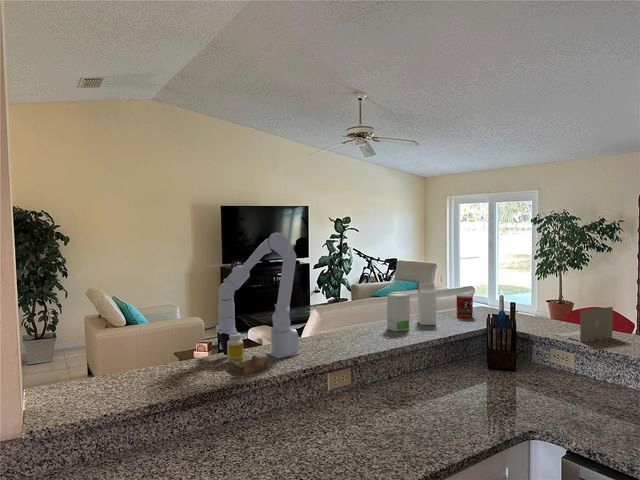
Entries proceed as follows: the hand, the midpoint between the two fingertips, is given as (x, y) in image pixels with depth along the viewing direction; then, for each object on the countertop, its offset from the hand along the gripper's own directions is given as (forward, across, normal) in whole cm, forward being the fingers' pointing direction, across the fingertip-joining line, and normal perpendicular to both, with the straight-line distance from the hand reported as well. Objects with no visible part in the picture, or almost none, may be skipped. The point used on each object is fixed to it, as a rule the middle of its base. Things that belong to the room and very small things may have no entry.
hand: (227, 354), depth 160 cm
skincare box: (+1, +8, +78) cm, 78 cm away
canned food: (+1, +10, +123) cm, 123 cm away
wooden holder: (+1, +16, 0) cm, 16 cm away
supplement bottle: (+1, +7, 0) cm, 7 cm away
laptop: (+2, +63, +129) cm, 144 cm away
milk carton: (+1, +8, +97) cm, 97 cm away
